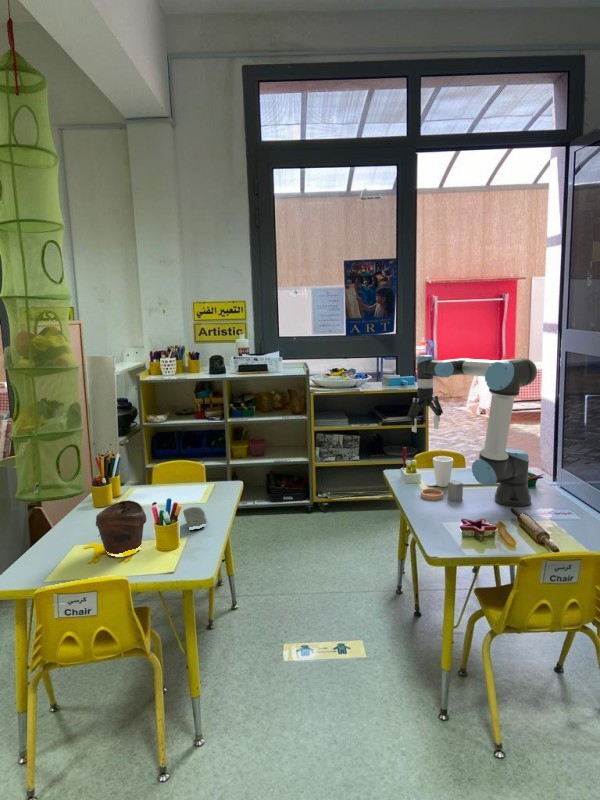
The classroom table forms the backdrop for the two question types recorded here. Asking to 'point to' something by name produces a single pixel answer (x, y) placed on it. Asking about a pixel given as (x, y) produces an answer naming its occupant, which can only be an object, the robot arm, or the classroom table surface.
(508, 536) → the classroom table surface
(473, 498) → the classroom table surface
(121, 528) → the chocolate muffin
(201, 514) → the decorative stone
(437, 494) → the terracotta dish
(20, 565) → the classroom table surface
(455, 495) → the stone block
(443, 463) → the foam cup
